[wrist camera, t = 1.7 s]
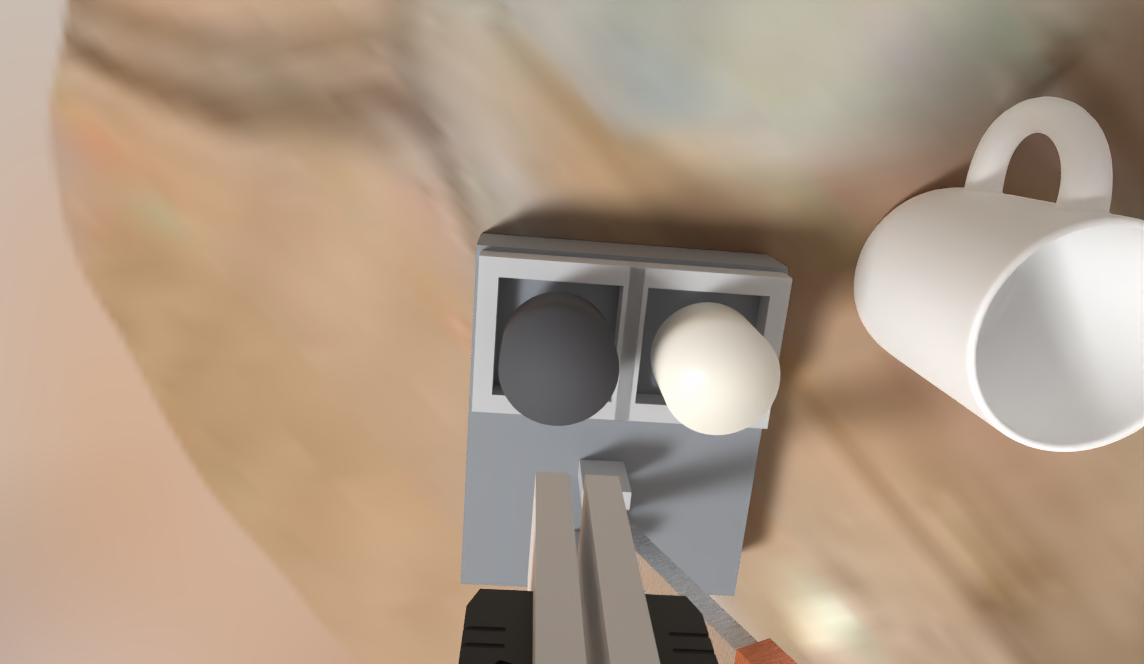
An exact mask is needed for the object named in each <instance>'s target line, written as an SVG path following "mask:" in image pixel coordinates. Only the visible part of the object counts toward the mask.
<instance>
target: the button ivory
mask: <svg viewBox="0 0 1144 664" xmlns="http://www.w3.org/2000/svg"><path fill="white" fill-rule="evenodd" d="M650 361H651V367H652V371H653V374H654V377H655V379H656V381H657V384H658V386H659V388H660V390H661V393H662V395H663V397H664V400H665V402H666V404H667V406H668V408H669V410H670V411H671V413H672V414H673V415H674V417H675V418H676V419H677V420H678V421H679V422H680V423H682V424H683V425H685V426H686V427H688V428H690V429H691V430H694V431H696V432H699V433H703V434H708V435H726V434H731V433H735V432H738V431H741V430H743V429H745V428H747V427H749V426H751V425H752V424H754V423H755V422H757V421H758V420H759V419H760V418H761V417H762V416H763V415H764V414H765V413H766V412H767V411H768V409H769V408H770V407H771V405H772V403H773V402H774V400H775V398H776V395H777V392H778V389H779V385H780V366H779V361H778V358H777V355H776V353H775V351H774V349H773V348H772V346H771V345H770V343H769V342H768V341H767V340H766V339H765V338H764V337H763V336H762V335H761V334H760V333H759V332H758V331H757V330H756V329H755V328H754V327H753V326H752V325H751V324H750V323H749V322H748V321H747V320H746V318H745V317H744V316H743V315H741V314H740V313H739V312H738V311H736V310H734V309H733V308H731V307H728V306H726V305H723V304H719V303H712V302H703V303H696V304H692V305H689V306H686V307H683V308H682V309H680V310H678V311H676V312H675V313H673V314H672V315H671V316H670V317H668V318H667V319H666V320H665V321H664V323H663V324H662V325H661V326H660V328H659V329H658V331H657V333H656V335H655V337H654V339H653V342H652V346H651V353H650Z"/></svg>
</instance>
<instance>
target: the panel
mask: <svg viewBox="0 0 1144 664" xmlns="http://www.w3.org/2000/svg"><path fill="white" fill-rule="evenodd" d="M788 270H789V268H788V267H787V266H785V265H784V264H782V263H780V262H779V261H777V260H776V259H774V258H773V257H771V256H770V255H768V254H756V253H743V252H729V251H716V250H703V249H689V248H676V247H662V246H649V245H636V244H622V243H609V242H595V241H582V240H569V239H555V238H542V237H528V236H515V235H502V234H488V233H482V234H481V236H480V238H479V241H478V243H477V249H476V270H475V291H474V312H473V333H472V354H471V375H470V396H469V418H468V439H467V460H466V481H465V502H464V523H463V544H462V565H461V584H475V585H497V586H520V587H528V567H529V554H530V541H531V527H532V514H533V501H534V488H535V475H536V472H550V473H568V474H569V475H570V486H571V497H572V508H573V520H574V531H575V542H576V553H577V556H578V545H579V535H580V525H581V514H582V504H583V494H584V483H585V474H587V475H605V476H619V480H620V484H621V489H622V493H623V498H624V502H625V507H626V511H627V516H628V519H629V520H630V521H631V522H632V523H633V524H634V525H635V526H636V527H637V528H638V529H639V530H640V531H641V532H642V533H643V534H644V535H645V536H647V537H648V538H649V539H650V540H651V541H652V542H653V543H654V544H655V545H656V546H657V547H658V548H659V549H660V550H661V551H662V552H663V553H664V554H666V555H667V556H668V557H669V558H670V559H671V560H672V561H673V562H674V563H675V564H676V565H677V566H678V567H679V568H680V569H681V570H682V571H683V572H685V573H686V574H687V575H688V576H689V577H690V578H691V579H692V580H693V581H694V582H695V583H696V584H697V585H698V586H699V587H700V588H701V589H703V590H704V591H705V592H706V593H707V594H708V595H726V596H734V593H735V587H736V581H737V575H738V569H739V563H740V558H741V552H742V546H743V540H744V534H745V528H746V522H747V516H748V510H749V504H750V498H751V492H752V486H753V480H754V474H755V468H756V462H757V456H758V450H759V444H760V438H761V432H762V429H767V428H768V422H769V416H770V410H771V407H770V408H769V409H768V411H767V412H766V413H765V414H764V415H763V416H762V417H761V418H760V419H759V420H758V421H757V422H755V423H754V424H752V425H751V426H749V427H747V428H745V429H743V430H741V431H738V432H735V433H731V434H726V435H708V434H703V433H699V432H696V431H694V430H691V429H690V428H688V427H686V426H685V425H683V424H682V423H680V422H679V421H678V420H677V419H676V418H675V417H674V415H673V414H672V413H671V411H670V410H669V408H668V406H667V404H666V402H665V400H664V397H663V395H662V393H661V390H660V388H659V386H658V384H657V381H656V379H655V377H654V374H653V371H652V367H651V361H650V353H651V346H652V342H653V339H654V337H655V335H656V333H657V331H658V329H659V328H660V326H661V325H662V324H663V323H664V321H665V320H666V319H667V318H668V317H670V316H671V315H672V314H673V313H675V312H676V311H678V310H680V309H682V308H683V307H686V306H689V305H692V304H696V303H703V302H712V303H719V304H723V305H726V306H728V307H731V308H733V309H734V310H736V311H738V312H739V313H740V314H741V315H743V316H744V317H745V318H746V320H747V321H748V322H749V323H750V324H751V325H752V326H753V327H754V328H755V329H756V330H757V331H758V332H759V333H760V334H761V335H762V336H763V337H764V338H765V339H766V340H767V341H768V342H769V343H770V345H771V346H772V348H773V349H774V351H775V353H776V355H777V358H778V361H779V357H780V351H781V345H782V339H783V333H784V327H785V321H786V315H787V309H788V304H789V298H790V292H791V286H792V280H793V278H791V277H790V276H788ZM548 292H566V293H571V294H575V295H577V296H580V297H582V298H584V299H586V300H587V301H589V302H590V303H592V304H593V305H594V306H595V307H596V308H597V309H598V310H599V311H600V312H601V314H602V315H603V316H604V318H605V320H606V322H607V324H608V326H609V329H610V332H611V335H612V338H613V341H614V344H615V348H616V351H617V354H618V358H619V377H618V382H617V385H616V388H615V391H614V393H613V395H612V396H611V398H610V399H609V401H608V402H607V403H606V405H605V406H604V407H603V408H602V409H601V410H600V411H599V412H597V413H596V414H595V415H593V416H592V417H590V418H588V419H586V420H584V421H581V422H579V423H576V424H572V425H565V426H551V425H545V424H541V423H538V422H535V421H532V420H530V419H529V418H527V417H525V416H524V415H522V414H521V413H519V412H518V411H517V410H516V409H515V408H514V407H513V406H512V405H511V404H510V402H509V401H508V399H507V398H506V396H505V394H504V392H503V390H502V388H501V384H500V381H499V374H498V365H499V358H500V351H501V344H502V337H503V332H504V329H505V326H506V324H507V321H508V320H509V318H510V316H511V315H512V314H513V312H514V311H515V310H516V309H517V308H518V307H519V306H520V305H521V304H523V303H524V302H525V301H527V300H529V299H530V298H532V297H534V296H537V295H540V294H543V293H548ZM644 592H646V591H645V590H644Z"/></svg>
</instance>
